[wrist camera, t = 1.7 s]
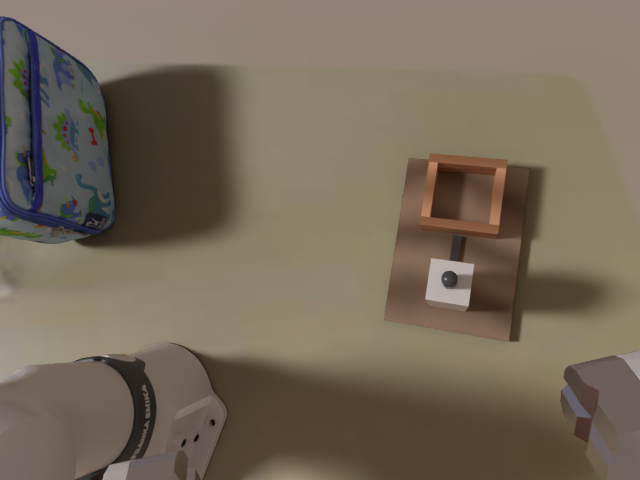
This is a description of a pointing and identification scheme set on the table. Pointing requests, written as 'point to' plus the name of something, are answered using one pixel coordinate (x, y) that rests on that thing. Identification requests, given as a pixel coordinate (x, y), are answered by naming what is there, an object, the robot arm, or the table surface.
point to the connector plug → (449, 284)
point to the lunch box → (50, 142)
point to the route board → (459, 241)
